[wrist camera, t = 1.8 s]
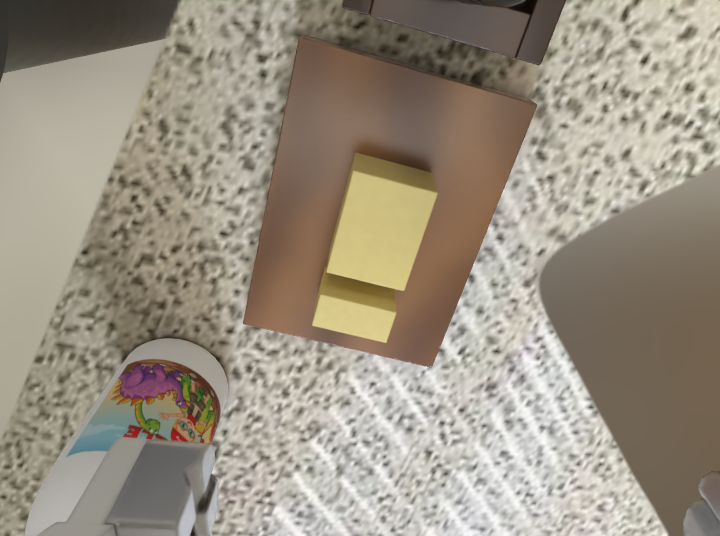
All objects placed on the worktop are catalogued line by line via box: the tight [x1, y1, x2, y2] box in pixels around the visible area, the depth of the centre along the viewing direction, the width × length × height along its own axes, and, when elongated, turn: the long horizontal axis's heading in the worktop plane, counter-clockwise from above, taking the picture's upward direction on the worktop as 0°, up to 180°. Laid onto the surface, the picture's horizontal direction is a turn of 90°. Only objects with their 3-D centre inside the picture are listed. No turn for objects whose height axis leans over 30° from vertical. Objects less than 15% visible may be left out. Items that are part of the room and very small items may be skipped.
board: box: [243, 35, 537, 367], centre depth 33 cm, size 13×18×2 cm
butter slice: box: [312, 267, 397, 343], centre depth 33 cm, size 4×2×4 cm, turn 75°
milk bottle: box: [25, 338, 228, 536], centre depth 31 cm, size 8×8×20 cm
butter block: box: [326, 153, 438, 291], centre depth 30 cm, size 4×6×4 cm
